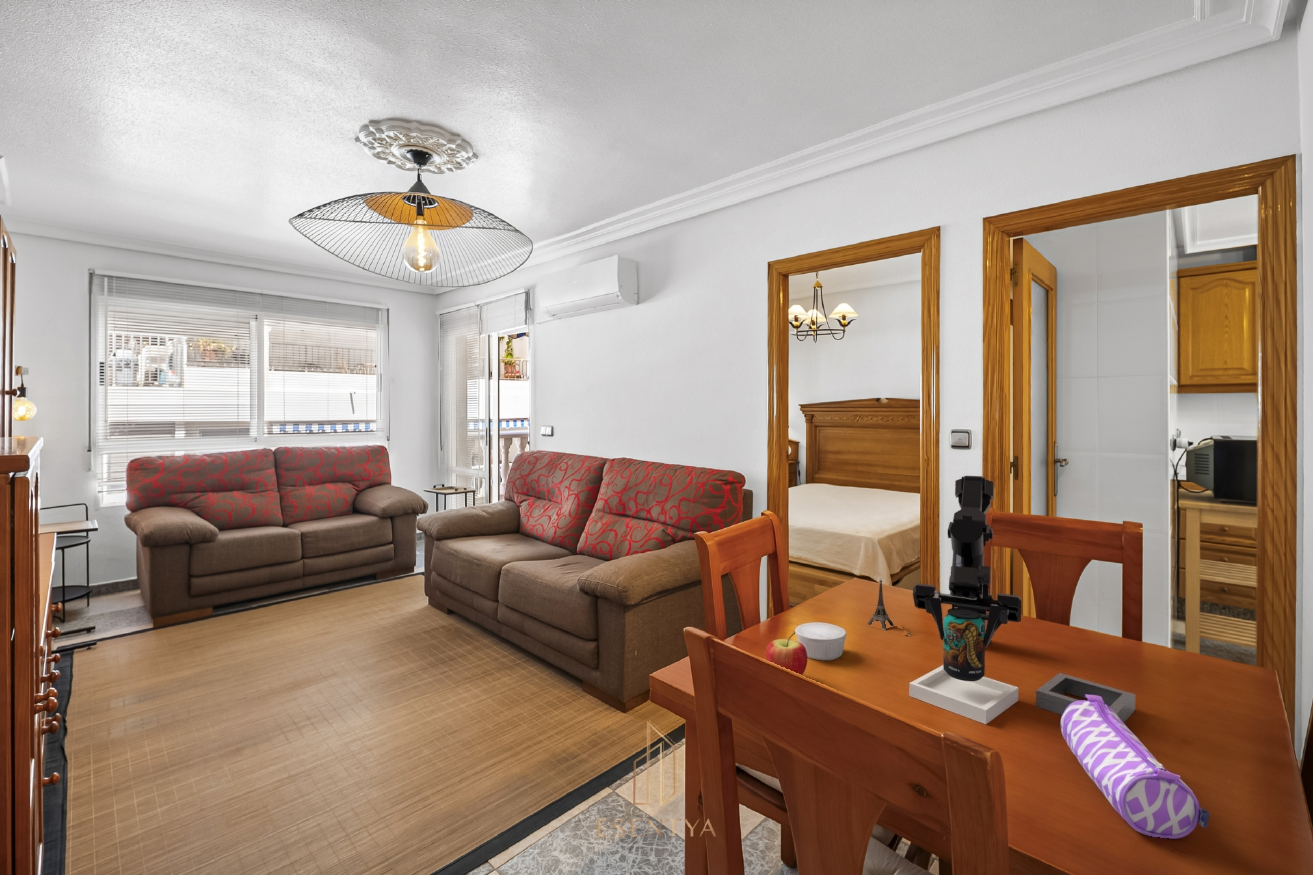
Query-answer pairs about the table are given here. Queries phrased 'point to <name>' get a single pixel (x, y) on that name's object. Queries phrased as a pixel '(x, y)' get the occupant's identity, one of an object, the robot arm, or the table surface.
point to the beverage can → (964, 644)
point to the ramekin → (821, 640)
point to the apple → (788, 654)
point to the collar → (1082, 695)
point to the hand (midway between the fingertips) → (963, 642)
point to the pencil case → (1129, 772)
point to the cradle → (964, 695)
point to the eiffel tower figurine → (881, 612)
